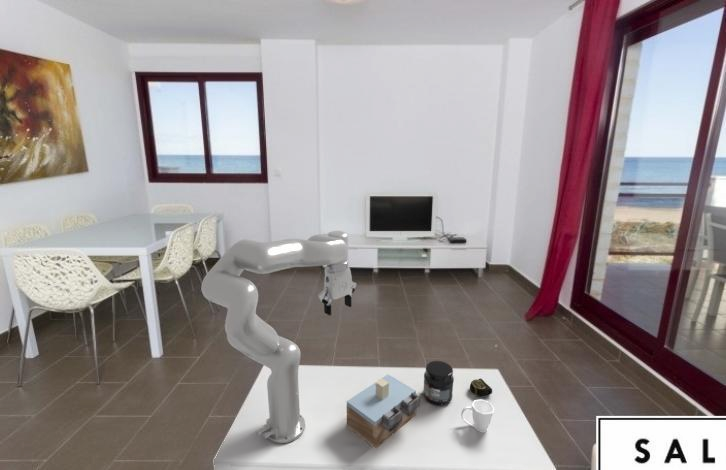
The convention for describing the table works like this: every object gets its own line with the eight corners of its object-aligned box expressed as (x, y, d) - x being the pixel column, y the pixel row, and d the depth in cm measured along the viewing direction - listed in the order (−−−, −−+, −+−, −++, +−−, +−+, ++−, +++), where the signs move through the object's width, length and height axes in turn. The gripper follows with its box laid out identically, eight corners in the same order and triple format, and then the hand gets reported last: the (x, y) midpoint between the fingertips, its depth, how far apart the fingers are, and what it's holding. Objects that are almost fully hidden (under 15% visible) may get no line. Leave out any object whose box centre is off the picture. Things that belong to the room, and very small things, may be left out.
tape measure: (492, 396, 132) (493, 388, 131) (476, 400, 130) (477, 391, 129) (481, 385, 138) (482, 376, 137) (465, 388, 136) (466, 380, 135)
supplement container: (443, 385, 137) (445, 357, 134) (457, 404, 128) (460, 374, 125) (418, 390, 135) (419, 361, 132) (430, 409, 125) (432, 379, 122)
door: (379, 429, 106) (379, 410, 104) (346, 405, 115) (346, 387, 114) (419, 397, 119) (420, 380, 118) (387, 377, 129) (388, 361, 127)
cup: (493, 437, 113) (496, 415, 111) (461, 432, 115) (463, 411, 113) (490, 420, 120) (492, 400, 118) (459, 416, 122) (461, 396, 120)
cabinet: (383, 455, 106) (384, 425, 104) (346, 425, 118) (346, 398, 115) (423, 420, 120) (425, 393, 118) (387, 396, 131) (387, 371, 129)
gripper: (325, 274, 119) (326, 321, 123) (362, 262, 131) (362, 306, 135) (311, 268, 124) (313, 314, 129) (348, 258, 136) (348, 299, 140)
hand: (338, 309), depth 132 cm, fingers open, 9 cm apart
